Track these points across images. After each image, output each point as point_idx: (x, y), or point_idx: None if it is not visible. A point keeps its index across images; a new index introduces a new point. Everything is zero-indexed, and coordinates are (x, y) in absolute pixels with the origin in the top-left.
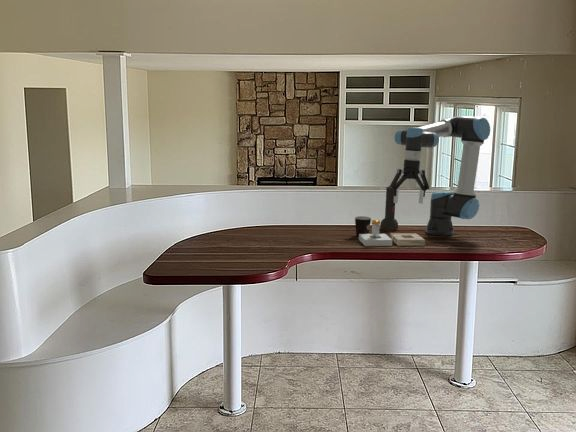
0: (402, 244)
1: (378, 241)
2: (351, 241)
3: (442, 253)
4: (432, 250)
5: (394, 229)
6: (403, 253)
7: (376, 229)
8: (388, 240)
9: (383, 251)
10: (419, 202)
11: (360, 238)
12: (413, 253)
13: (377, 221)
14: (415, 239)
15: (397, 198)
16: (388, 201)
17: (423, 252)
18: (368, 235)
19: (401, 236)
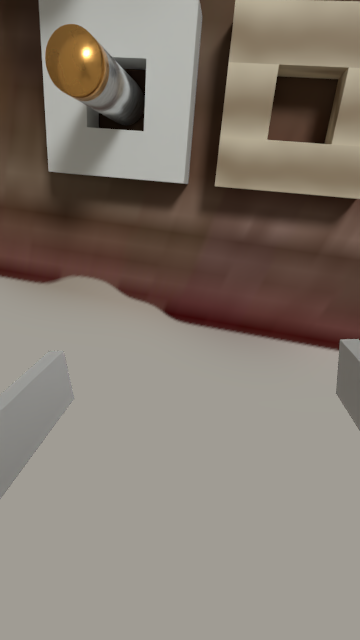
0: (239, 188)
1: (115, 177)
2: (13, 62)
3: None
4: (338, 295)
5: None
6: (188, 318)
7: (95, 108)
8: (164, 181)
9: (119, 276)
10: (341, 361)
11: None
12: (228, 325)
13: (77, 90)
14: (315, 187)
15: (48, 427)
16: None
17: (278, 318)
18: None
19: (270, 97)
